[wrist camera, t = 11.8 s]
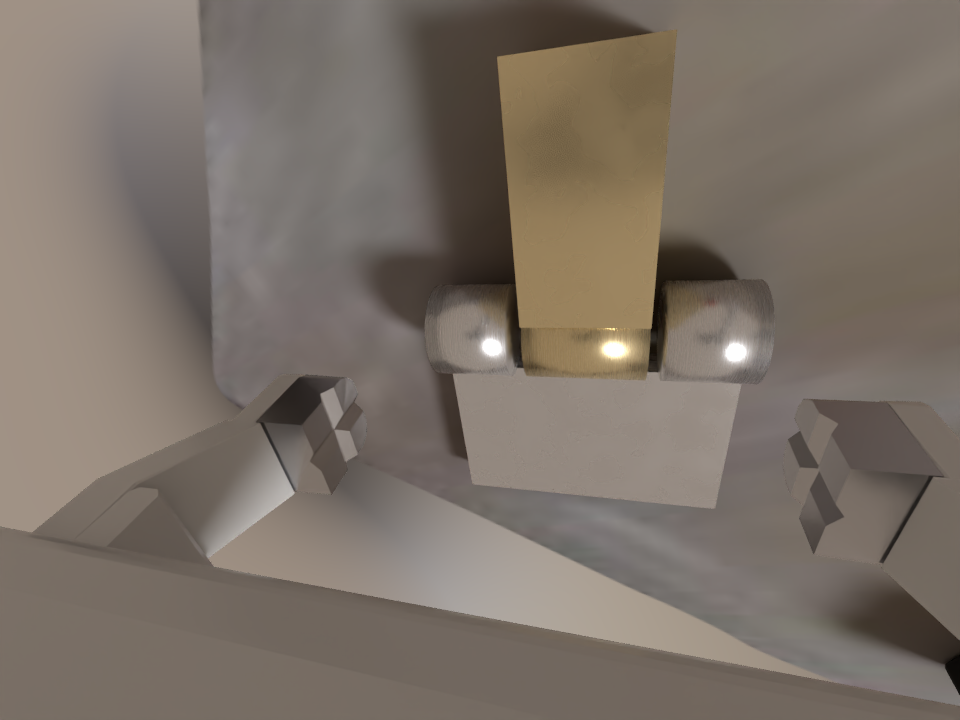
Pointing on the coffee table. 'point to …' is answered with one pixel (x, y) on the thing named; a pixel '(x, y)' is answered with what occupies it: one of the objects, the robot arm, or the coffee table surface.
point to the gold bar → (587, 200)
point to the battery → (954, 672)
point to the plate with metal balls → (605, 395)
